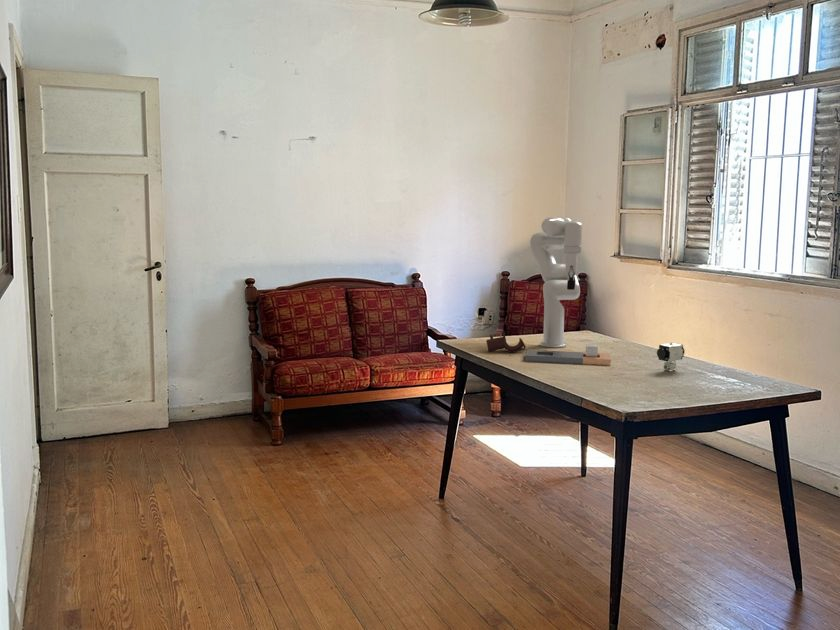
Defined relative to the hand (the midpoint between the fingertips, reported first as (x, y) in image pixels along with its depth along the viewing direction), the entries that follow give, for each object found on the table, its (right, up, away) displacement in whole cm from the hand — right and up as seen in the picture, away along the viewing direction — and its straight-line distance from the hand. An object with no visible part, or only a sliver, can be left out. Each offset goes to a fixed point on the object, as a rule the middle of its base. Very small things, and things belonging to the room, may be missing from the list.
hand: (571, 288), depth 360 cm
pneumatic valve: (+36, -35, -27) cm, 57 cm away
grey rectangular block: (+7, -32, -9) cm, 34 cm away
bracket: (-28, -29, +11) cm, 42 cm away
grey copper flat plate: (-3, -32, -7) cm, 33 cm away
